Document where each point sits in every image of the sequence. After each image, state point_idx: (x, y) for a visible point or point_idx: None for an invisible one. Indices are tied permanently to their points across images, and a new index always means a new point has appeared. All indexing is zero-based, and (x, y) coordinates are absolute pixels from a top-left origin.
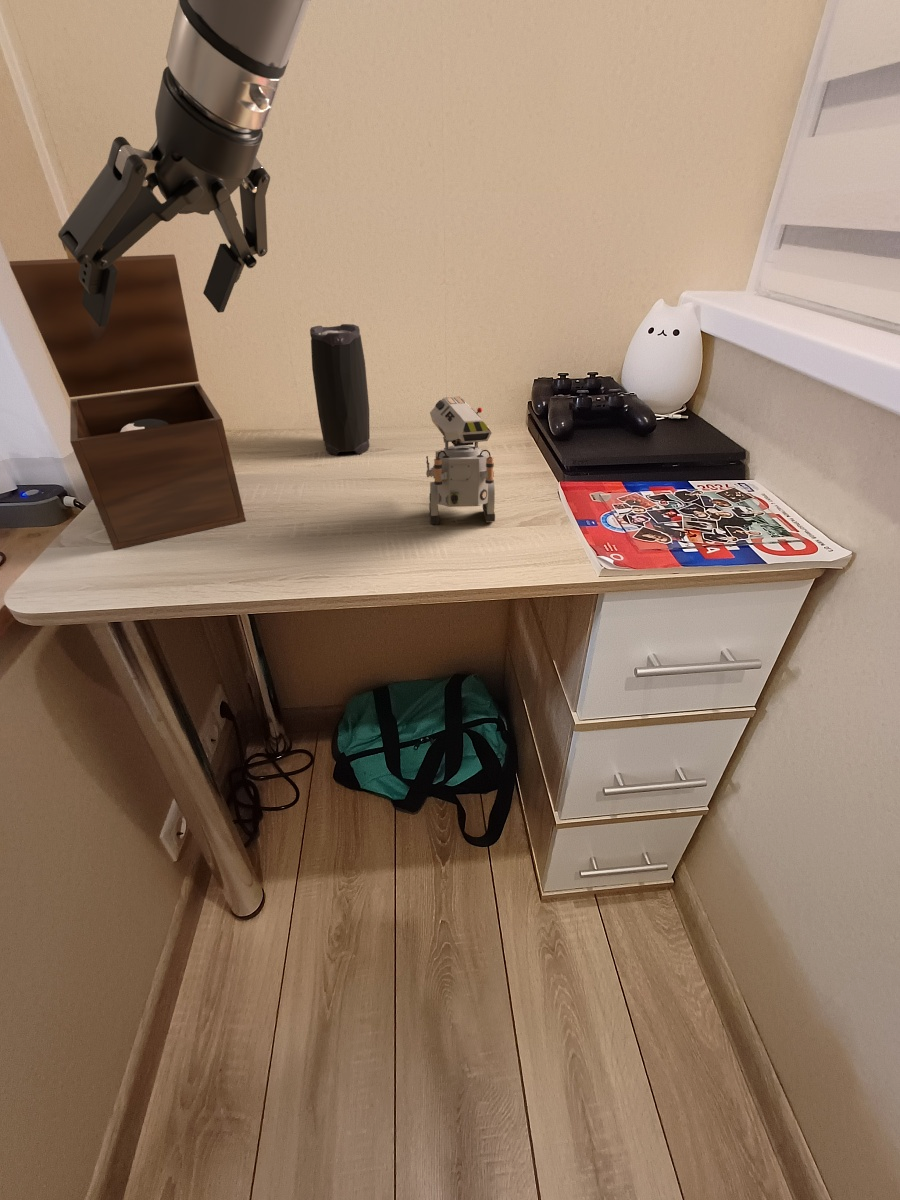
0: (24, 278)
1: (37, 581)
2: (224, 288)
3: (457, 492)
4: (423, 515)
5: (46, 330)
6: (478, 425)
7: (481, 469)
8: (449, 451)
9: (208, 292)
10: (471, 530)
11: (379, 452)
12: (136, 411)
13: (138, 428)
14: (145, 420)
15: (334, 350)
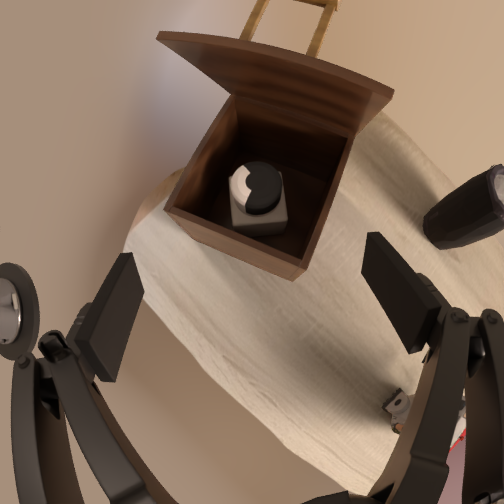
0: (173, 46)
1: (141, 239)
2: (382, 300)
3: (400, 432)
4: (391, 388)
5: (204, 70)
6: None
7: None
8: None
9: (371, 248)
10: (390, 428)
11: (451, 259)
12: (281, 124)
13: (244, 189)
14: (262, 173)
15: (491, 215)
